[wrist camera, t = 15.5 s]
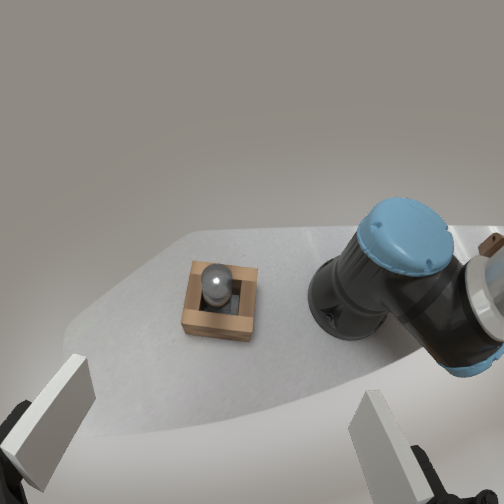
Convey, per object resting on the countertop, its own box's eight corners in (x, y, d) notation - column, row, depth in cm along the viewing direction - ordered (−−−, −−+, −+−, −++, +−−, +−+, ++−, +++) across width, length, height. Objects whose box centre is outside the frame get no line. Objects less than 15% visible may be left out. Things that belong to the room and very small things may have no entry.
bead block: (253, 284, 50) (257, 268, 44) (248, 341, 44) (252, 332, 39) (195, 277, 49) (192, 260, 44) (185, 333, 44) (180, 323, 39)
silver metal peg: (231, 299, 48) (234, 265, 37) (228, 322, 46) (230, 294, 35) (207, 296, 48) (203, 261, 37) (204, 319, 46) (198, 290, 35)
